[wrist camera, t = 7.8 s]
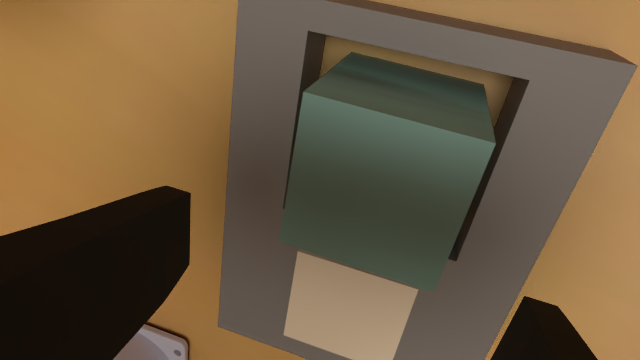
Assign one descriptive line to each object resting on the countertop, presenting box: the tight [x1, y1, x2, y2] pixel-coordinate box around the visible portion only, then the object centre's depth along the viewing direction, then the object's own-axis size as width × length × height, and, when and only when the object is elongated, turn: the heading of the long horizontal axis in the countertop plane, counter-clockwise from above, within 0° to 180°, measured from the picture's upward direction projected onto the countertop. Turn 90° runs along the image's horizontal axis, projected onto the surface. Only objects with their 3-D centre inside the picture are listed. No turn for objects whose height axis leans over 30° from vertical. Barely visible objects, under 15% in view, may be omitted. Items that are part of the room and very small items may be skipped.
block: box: [279, 52, 496, 293], centre depth 15 cm, size 5×5×6 cm
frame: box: [218, 0, 637, 360], centre depth 18 cm, size 16×12×3 cm
